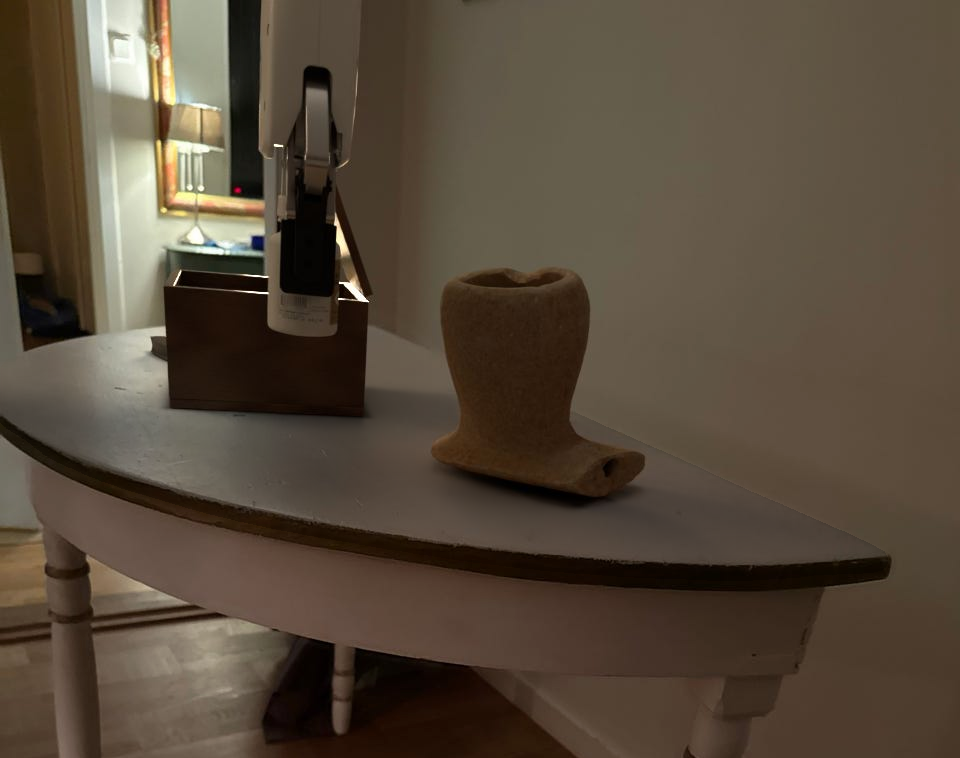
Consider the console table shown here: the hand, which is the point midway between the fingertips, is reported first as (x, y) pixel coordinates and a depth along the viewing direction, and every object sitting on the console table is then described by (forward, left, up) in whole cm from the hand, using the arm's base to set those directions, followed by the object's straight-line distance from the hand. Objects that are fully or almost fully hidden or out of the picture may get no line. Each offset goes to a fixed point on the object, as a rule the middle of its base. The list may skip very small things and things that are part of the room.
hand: (303, 285), depth 57 cm
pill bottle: (0, 0, -3) cm, 3 cm away
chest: (-1, +27, -13) cm, 30 cm away
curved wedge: (-7, +42, -13) cm, 44 cm away
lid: (+3, +27, +5) cm, 27 cm away
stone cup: (+17, +2, -13) cm, 21 cm away
